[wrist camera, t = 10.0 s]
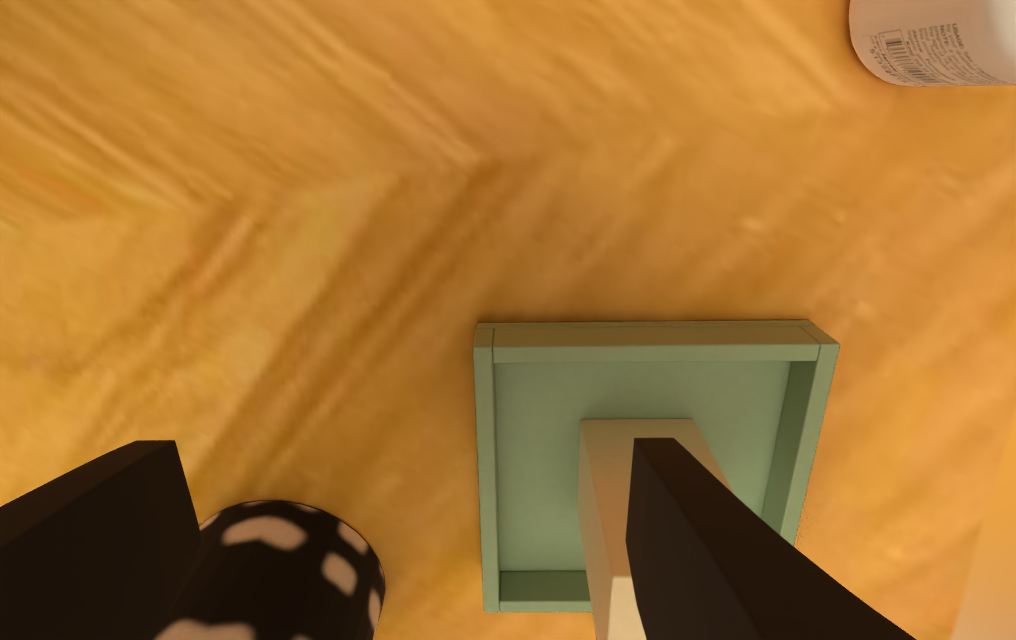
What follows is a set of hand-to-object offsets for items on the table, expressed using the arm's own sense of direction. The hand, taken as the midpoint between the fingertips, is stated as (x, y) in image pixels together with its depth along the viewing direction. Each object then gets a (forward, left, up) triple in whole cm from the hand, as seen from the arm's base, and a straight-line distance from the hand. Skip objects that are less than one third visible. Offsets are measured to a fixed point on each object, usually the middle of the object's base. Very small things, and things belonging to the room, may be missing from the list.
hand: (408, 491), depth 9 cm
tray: (+6, -7, -10) cm, 14 cm away
